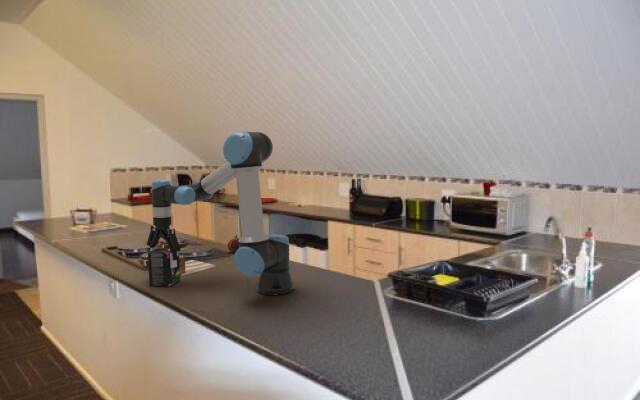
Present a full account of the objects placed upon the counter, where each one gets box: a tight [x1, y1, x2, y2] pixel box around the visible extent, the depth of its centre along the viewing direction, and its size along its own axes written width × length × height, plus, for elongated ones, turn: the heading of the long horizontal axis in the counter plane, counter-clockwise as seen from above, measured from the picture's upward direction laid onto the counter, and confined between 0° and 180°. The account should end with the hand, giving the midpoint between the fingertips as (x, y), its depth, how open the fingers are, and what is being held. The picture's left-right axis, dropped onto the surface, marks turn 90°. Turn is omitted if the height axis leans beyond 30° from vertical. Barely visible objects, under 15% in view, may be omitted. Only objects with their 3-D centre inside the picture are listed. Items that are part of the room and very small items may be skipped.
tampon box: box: [147, 247, 181, 288], centre depth 212 cm, size 11×9×15 cm
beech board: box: [179, 255, 217, 277], centre depth 235 cm, size 18×20×8 cm
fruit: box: [227, 234, 241, 253], centre depth 266 cm, size 9×10×10 cm
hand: (163, 264), depth 212 cm, fingers open, 13 cm apart
